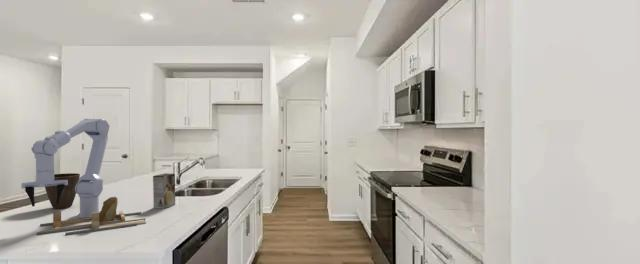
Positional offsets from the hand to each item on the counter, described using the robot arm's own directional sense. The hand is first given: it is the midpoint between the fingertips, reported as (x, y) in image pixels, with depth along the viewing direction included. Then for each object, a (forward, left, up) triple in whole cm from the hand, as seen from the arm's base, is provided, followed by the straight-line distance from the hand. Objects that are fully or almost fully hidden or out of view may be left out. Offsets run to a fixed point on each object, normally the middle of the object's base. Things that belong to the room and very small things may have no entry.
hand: (45, 204), depth 143 cm
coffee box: (-16, +47, -10) cm, 50 cm away
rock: (+1, +20, -9) cm, 22 cm away
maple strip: (+11, +25, -10) cm, 29 cm away
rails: (+4, +16, -10) cm, 19 cm away
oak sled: (+1, +15, -10) cm, 18 cm away
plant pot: (-40, +4, -10) cm, 41 cm away
